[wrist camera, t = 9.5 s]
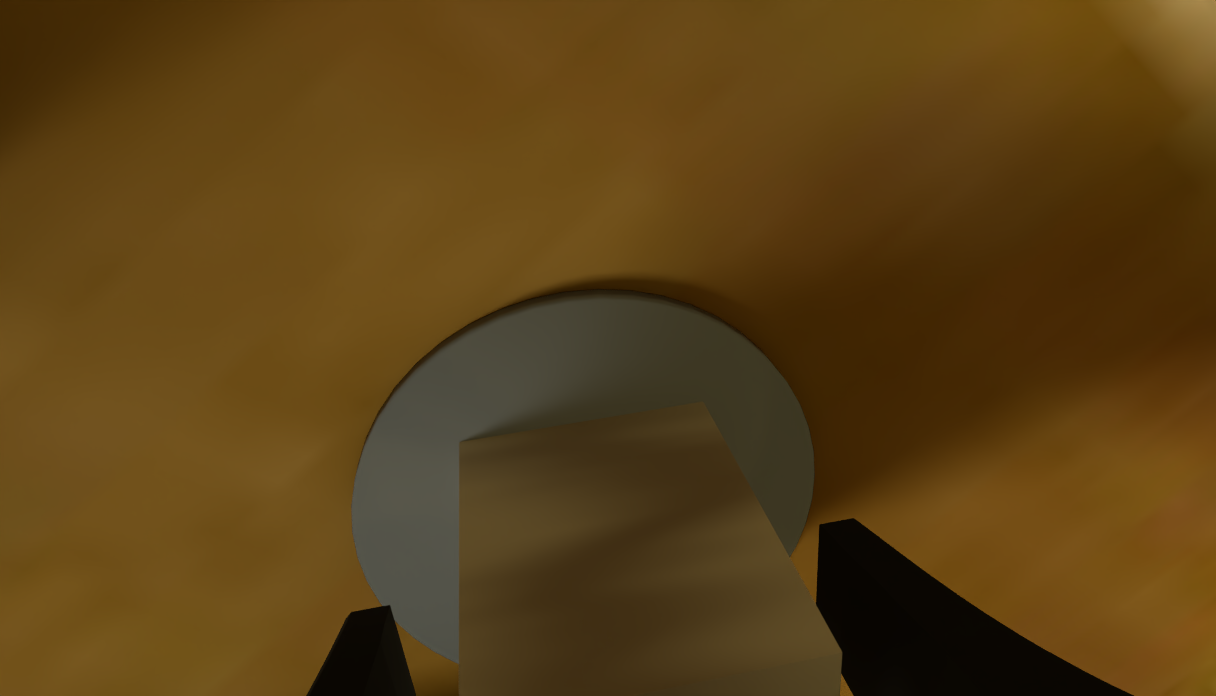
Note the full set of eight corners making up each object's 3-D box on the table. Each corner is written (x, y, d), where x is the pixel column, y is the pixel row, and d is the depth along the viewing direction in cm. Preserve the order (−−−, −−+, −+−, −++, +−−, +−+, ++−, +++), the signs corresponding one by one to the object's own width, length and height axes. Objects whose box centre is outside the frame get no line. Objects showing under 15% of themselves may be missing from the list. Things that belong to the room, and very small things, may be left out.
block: (703, 401, 15) (842, 652, 9) (710, 584, 17) (828, 877, 11) (459, 441, 14) (459, 731, 9) (497, 625, 16) (516, 951, 11)
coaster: (810, 255, 14) (822, 265, 14) (800, 621, 18) (808, 637, 18) (298, 331, 13) (293, 343, 13) (408, 700, 17) (406, 719, 17)
